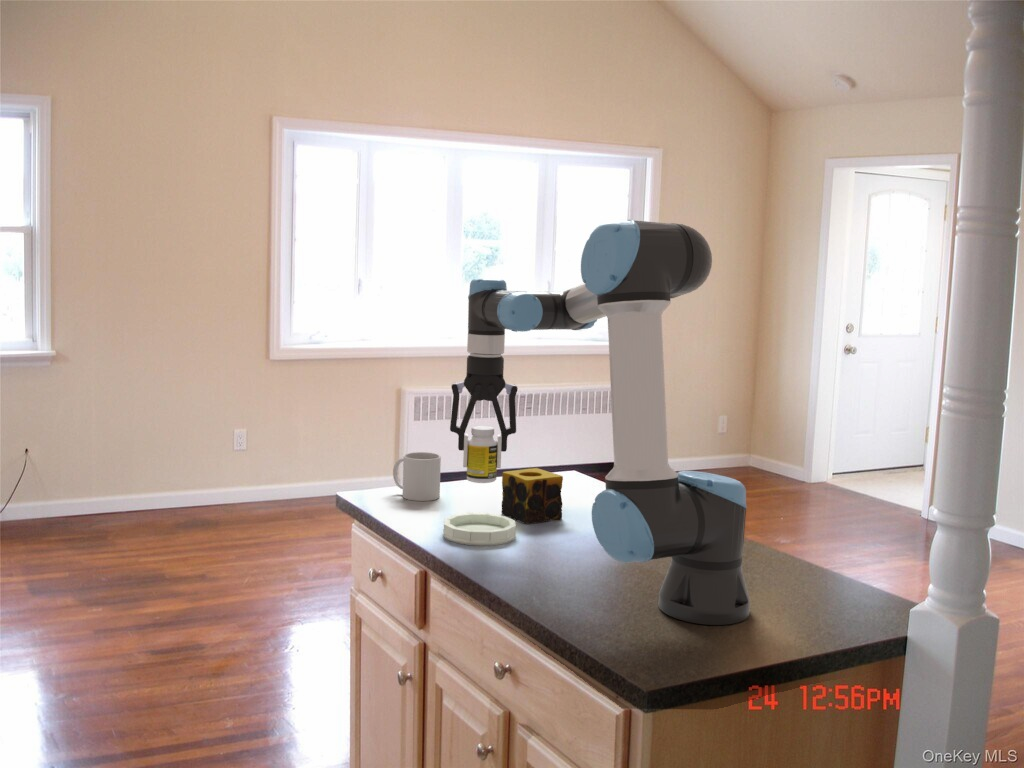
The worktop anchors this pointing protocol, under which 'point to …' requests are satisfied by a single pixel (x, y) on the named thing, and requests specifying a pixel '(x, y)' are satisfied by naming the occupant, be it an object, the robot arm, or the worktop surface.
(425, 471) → the mug
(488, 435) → the pill bottle
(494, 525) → the sage dish
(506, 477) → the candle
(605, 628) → the worktop surface
